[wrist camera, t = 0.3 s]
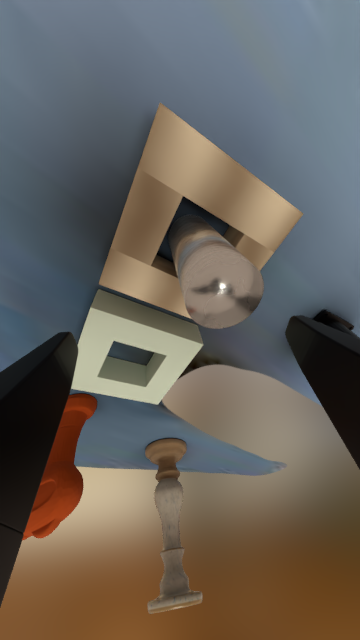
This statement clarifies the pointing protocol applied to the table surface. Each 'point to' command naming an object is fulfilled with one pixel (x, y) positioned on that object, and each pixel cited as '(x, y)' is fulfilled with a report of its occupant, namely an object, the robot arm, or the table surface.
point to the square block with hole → (140, 331)
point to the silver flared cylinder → (213, 274)
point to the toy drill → (61, 471)
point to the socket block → (201, 188)
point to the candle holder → (170, 527)
